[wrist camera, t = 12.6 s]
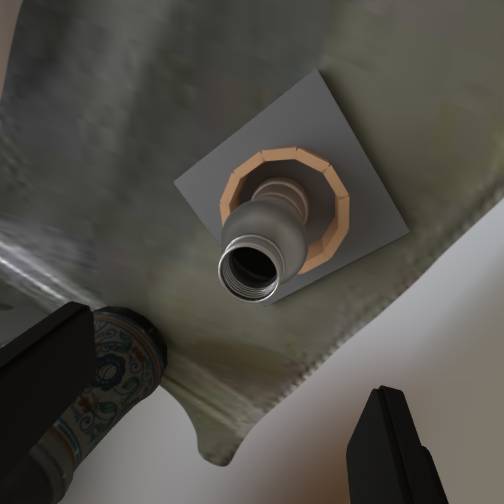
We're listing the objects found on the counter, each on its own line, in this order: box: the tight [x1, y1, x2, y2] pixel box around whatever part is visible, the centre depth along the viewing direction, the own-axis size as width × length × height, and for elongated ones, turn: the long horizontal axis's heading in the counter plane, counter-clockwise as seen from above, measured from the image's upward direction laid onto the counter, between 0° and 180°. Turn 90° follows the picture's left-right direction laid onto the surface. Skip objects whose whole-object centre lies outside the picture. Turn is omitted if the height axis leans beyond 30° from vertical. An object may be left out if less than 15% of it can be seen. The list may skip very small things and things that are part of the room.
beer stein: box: [0, 306, 167, 504], centre depth 38 cm, size 16×19×25 cm
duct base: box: [174, 68, 410, 307], centre depth 34 cm, size 20×20×6 cm
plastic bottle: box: [218, 176, 310, 303], centre depth 26 cm, size 6×7×20 cm
